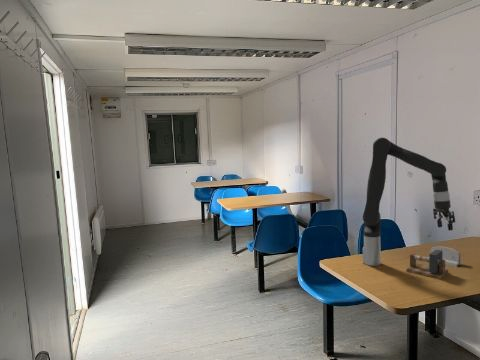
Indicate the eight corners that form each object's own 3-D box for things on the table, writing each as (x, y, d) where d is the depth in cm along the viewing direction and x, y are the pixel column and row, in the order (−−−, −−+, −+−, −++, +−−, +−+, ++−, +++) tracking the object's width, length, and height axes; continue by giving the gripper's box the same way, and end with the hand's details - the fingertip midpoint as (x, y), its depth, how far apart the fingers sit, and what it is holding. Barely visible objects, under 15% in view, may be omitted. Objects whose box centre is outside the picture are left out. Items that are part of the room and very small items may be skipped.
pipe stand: (406, 271, 190) (406, 256, 189) (415, 265, 198) (415, 251, 197) (440, 279, 177) (440, 263, 177) (448, 272, 185) (448, 257, 184)
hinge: (426, 260, 206) (429, 243, 207) (430, 260, 208) (432, 244, 209) (457, 267, 192) (459, 249, 193) (460, 267, 195) (463, 250, 196)
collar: (429, 272, 182) (429, 254, 181) (436, 267, 189) (436, 249, 188) (435, 273, 180) (435, 255, 179) (442, 268, 186) (442, 250, 185)
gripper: (427, 199, 192) (430, 227, 193) (443, 201, 178) (447, 232, 179) (439, 197, 193) (443, 225, 194) (457, 199, 179) (461, 230, 179)
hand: (445, 228), depth 186 cm, fingers open, 8 cm apart
